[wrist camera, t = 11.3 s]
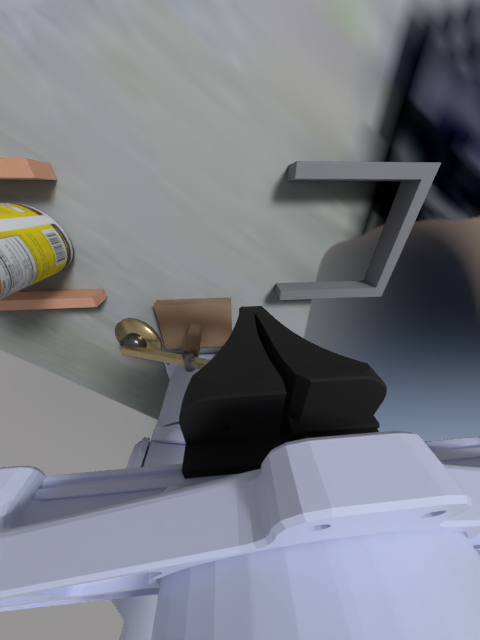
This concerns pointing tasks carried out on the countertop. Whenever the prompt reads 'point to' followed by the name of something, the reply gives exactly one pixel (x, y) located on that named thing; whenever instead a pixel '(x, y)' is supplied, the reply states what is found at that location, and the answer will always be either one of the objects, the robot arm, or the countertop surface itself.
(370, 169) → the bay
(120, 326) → the balance beam
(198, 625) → the robot arm
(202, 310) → the stand
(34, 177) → the frame
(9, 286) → the supplement bottle
